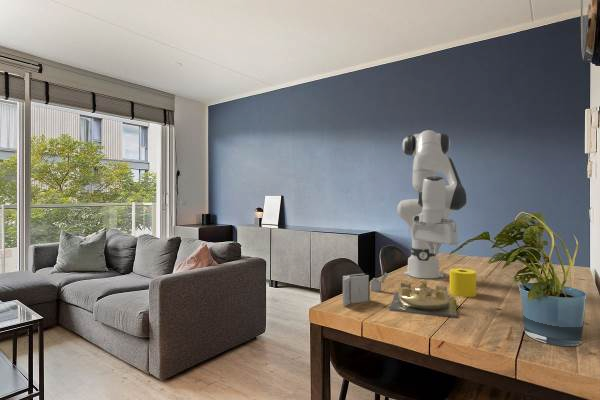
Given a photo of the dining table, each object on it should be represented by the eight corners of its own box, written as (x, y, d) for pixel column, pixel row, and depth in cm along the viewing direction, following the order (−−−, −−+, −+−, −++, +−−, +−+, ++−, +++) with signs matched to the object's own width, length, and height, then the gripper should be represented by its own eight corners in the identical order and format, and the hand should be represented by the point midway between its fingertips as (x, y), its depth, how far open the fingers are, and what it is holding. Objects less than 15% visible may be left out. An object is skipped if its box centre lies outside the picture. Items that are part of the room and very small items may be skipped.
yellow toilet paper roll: (479, 297, 138) (479, 274, 138) (452, 296, 140) (452, 273, 140) (472, 290, 148) (472, 268, 148) (447, 289, 150) (447, 268, 150)
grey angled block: (370, 290, 149) (370, 272, 149) (371, 289, 151) (371, 271, 151) (387, 292, 147) (387, 273, 146) (388, 291, 148) (388, 272, 148)
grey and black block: (344, 307, 128) (344, 279, 127) (335, 303, 132) (334, 277, 132) (371, 300, 135) (371, 274, 135) (361, 297, 140) (361, 272, 140)
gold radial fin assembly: (400, 293, 142) (400, 279, 142) (448, 297, 135) (448, 282, 135) (396, 306, 125) (396, 290, 125) (450, 312, 118) (450, 295, 118)
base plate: (395, 293, 144) (395, 291, 144) (453, 299, 136) (453, 296, 136) (389, 310, 124) (389, 307, 124) (457, 317, 116) (457, 315, 116)
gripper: (462, 219, 126) (462, 257, 126) (421, 216, 145) (421, 249, 145) (449, 219, 124) (449, 258, 124) (409, 217, 142) (409, 250, 142)
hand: (433, 253), depth 134 cm, fingers closed
